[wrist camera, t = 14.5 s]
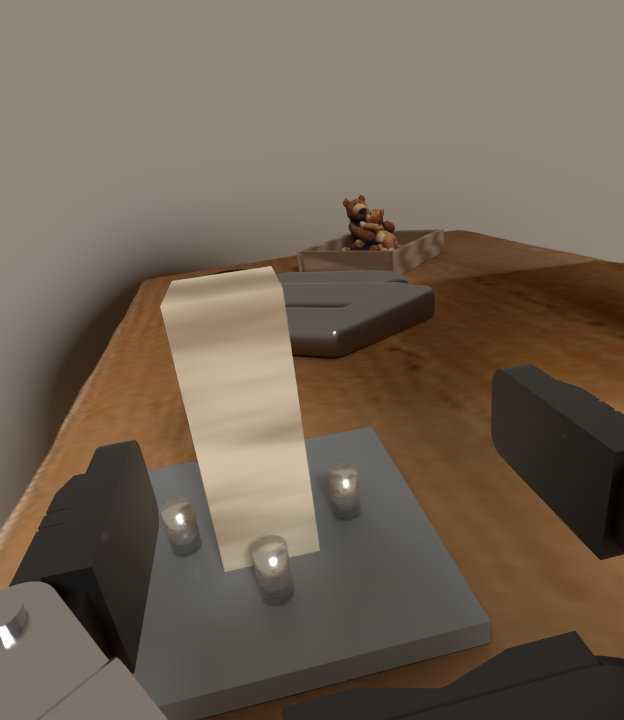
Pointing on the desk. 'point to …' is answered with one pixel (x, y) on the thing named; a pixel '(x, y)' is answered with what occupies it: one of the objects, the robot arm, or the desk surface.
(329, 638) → the slate base plate
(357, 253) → the walnut display rim
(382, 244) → the bear figurine
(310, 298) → the emblem
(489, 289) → the desk surface
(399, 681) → the desk surface
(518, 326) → the desk surface
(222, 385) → the birch post
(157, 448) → the desk surface
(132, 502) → the robot arm
